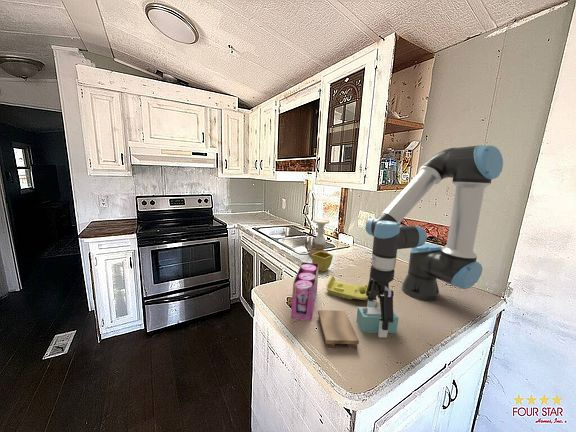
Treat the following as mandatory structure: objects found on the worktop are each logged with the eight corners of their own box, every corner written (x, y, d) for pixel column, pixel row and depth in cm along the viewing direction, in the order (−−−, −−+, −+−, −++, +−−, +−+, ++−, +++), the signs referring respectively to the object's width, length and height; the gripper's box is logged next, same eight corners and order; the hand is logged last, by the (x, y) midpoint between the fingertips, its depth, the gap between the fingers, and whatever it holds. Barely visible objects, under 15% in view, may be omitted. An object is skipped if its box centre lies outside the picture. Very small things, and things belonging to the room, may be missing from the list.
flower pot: (332, 269, 133) (333, 254, 131) (323, 274, 127) (324, 258, 125) (319, 265, 139) (320, 250, 137) (310, 269, 132) (311, 254, 131)
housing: (388, 322, 87) (391, 304, 86) (396, 333, 81) (399, 313, 80) (356, 321, 87) (358, 303, 85) (361, 332, 81) (363, 313, 79)
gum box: (311, 324, 84) (313, 288, 82) (289, 320, 86) (291, 285, 83) (317, 292, 107) (319, 263, 105) (300, 289, 109) (301, 261, 107)
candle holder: (314, 260, 147) (316, 222, 142) (308, 254, 157) (309, 219, 153) (330, 259, 150) (333, 222, 146) (323, 253, 160) (325, 218, 156)
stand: (344, 318, 88) (345, 310, 88) (358, 349, 73) (358, 340, 72) (317, 317, 88) (318, 310, 88) (325, 348, 72) (326, 340, 72)
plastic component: (324, 289, 106) (333, 273, 112) (327, 300, 109) (335, 284, 116) (370, 300, 94) (376, 282, 101) (371, 312, 98) (377, 293, 105)
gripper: (360, 255, 91) (355, 308, 95) (386, 282, 69) (378, 349, 72) (379, 255, 91) (373, 308, 95) (411, 282, 69) (402, 350, 73)
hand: (375, 326), depth 84 cm, fingers open, 10 cm apart
